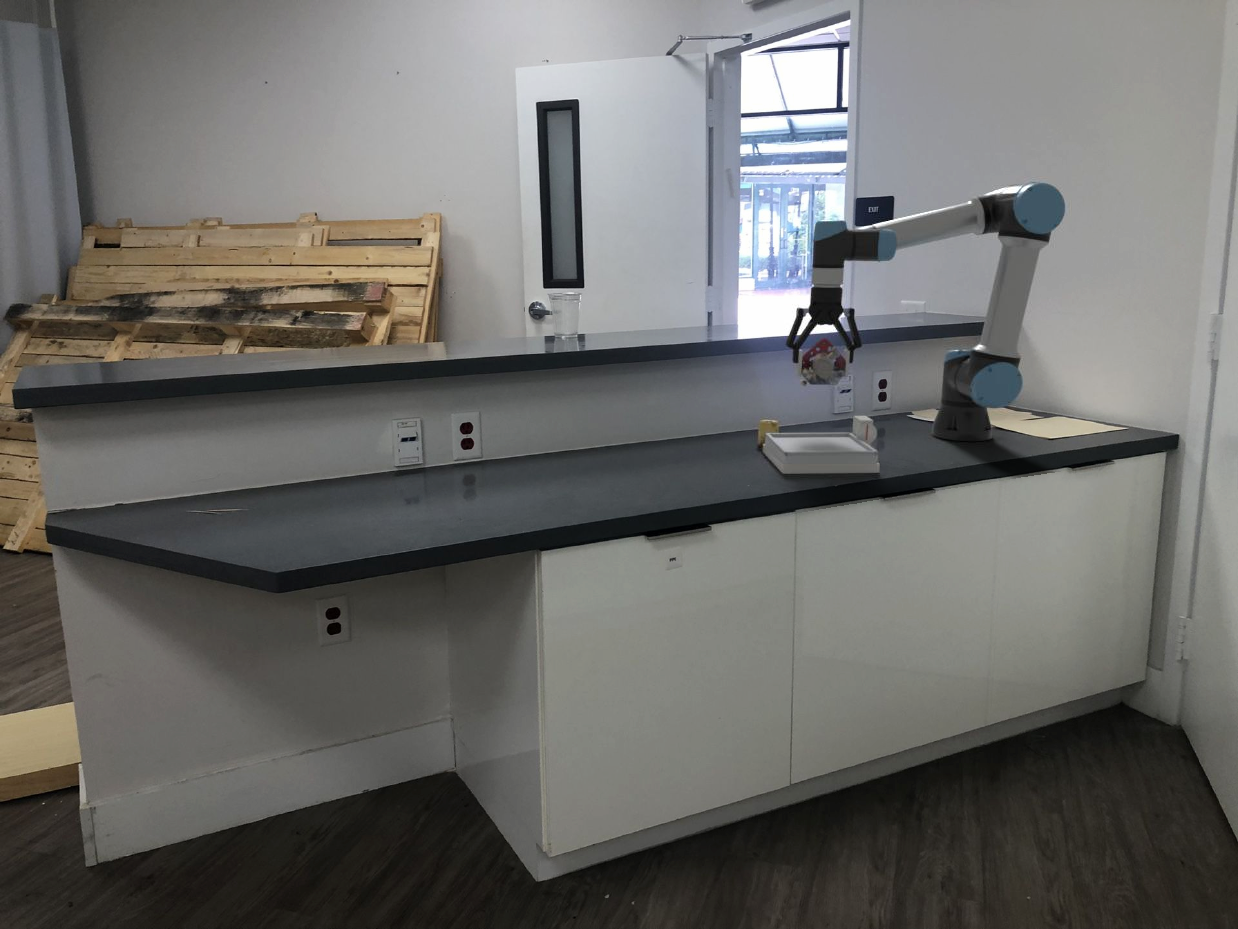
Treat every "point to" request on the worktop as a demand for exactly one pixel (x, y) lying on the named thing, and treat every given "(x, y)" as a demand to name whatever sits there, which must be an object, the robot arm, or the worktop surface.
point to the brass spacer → (766, 429)
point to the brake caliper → (823, 365)
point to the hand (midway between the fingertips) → (821, 376)
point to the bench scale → (825, 450)
